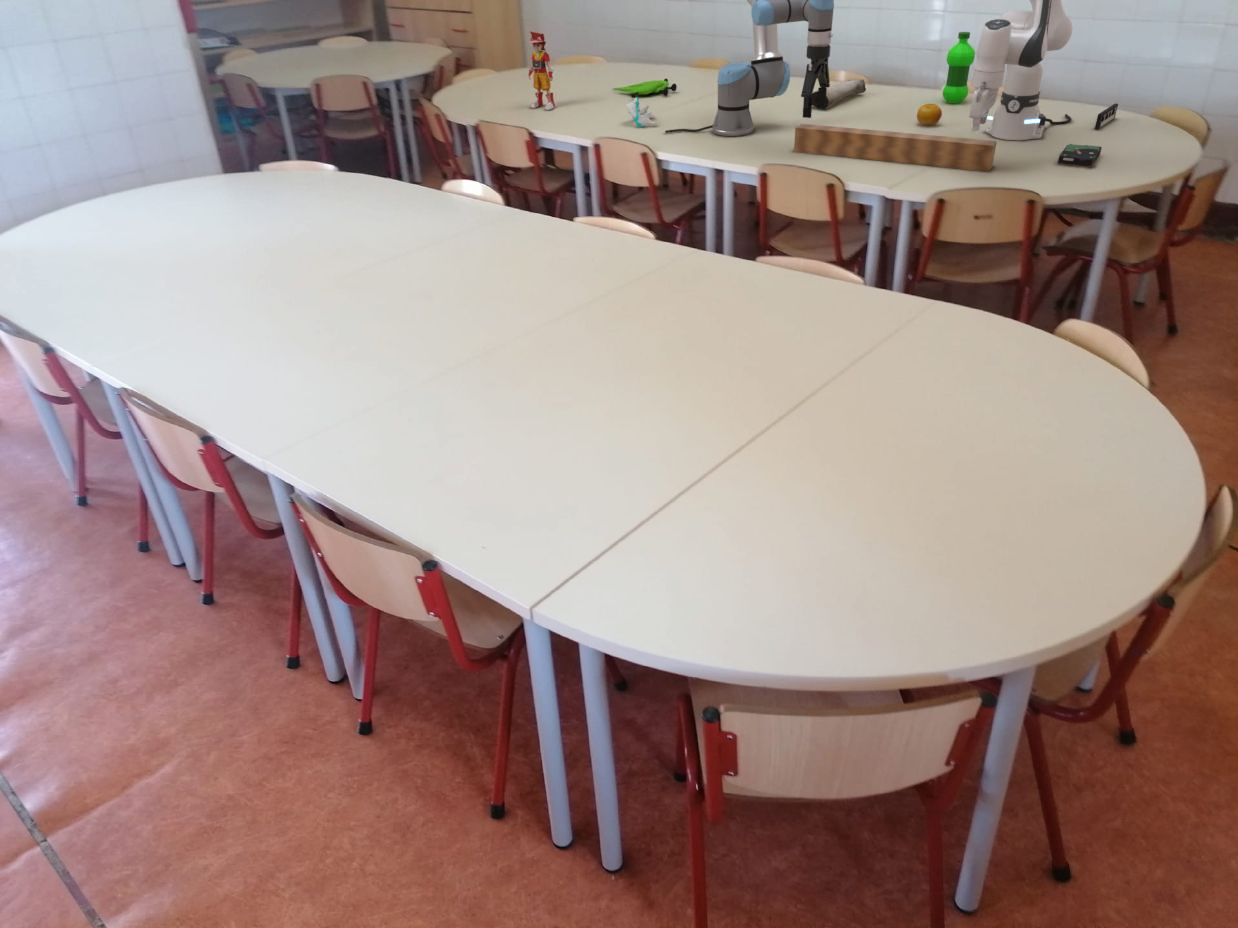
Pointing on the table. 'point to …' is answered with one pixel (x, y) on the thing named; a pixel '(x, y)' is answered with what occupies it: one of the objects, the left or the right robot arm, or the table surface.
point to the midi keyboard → (1106, 116)
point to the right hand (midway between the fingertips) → (978, 127)
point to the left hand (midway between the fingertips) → (814, 112)
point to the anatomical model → (640, 114)
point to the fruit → (929, 114)
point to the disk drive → (1079, 155)
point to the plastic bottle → (958, 69)
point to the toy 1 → (541, 71)
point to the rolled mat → (840, 91)
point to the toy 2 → (648, 88)
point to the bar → (896, 147)
